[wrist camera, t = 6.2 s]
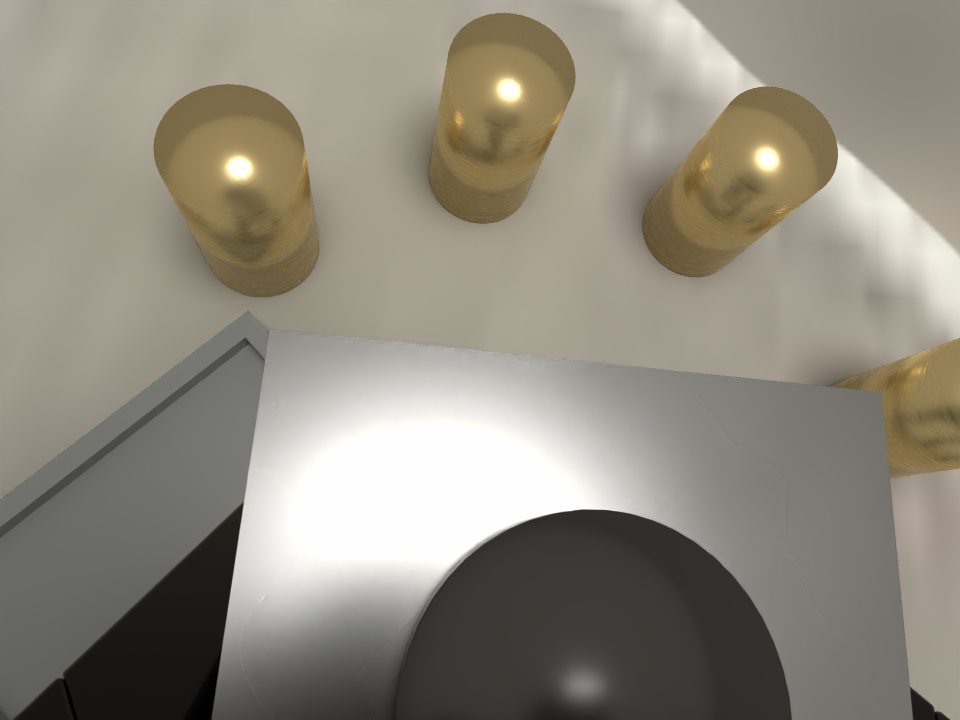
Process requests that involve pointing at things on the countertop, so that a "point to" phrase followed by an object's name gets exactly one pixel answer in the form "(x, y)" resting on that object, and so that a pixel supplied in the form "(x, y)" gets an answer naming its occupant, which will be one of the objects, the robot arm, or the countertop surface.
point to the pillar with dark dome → (558, 543)
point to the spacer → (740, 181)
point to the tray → (124, 508)
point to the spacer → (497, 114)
